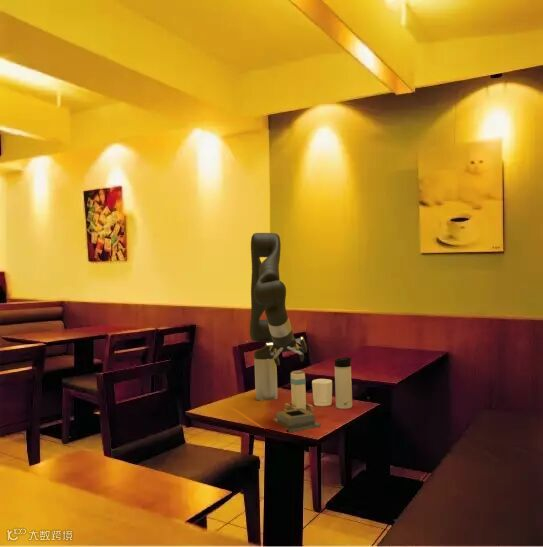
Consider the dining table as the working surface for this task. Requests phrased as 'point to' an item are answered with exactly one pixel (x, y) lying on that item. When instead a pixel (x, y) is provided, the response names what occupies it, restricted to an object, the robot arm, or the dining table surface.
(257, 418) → the dining table surface
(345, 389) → the travel mug
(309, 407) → the wooden square tray
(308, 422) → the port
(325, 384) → the white cup
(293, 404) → the plug
